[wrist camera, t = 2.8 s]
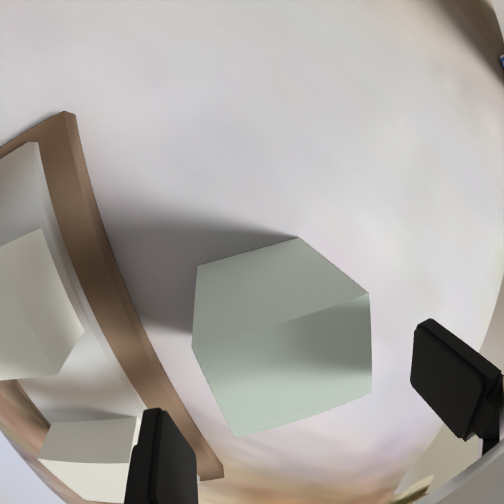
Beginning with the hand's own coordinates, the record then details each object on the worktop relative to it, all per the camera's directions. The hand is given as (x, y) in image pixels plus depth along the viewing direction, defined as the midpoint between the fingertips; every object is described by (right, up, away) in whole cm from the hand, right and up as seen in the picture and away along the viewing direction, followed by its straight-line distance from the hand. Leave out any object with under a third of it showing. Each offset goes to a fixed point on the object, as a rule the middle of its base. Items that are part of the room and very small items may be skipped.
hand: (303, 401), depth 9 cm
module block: (-1, +3, +8) cm, 9 cm away
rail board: (-14, -3, +8) cm, 17 cm away
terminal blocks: (-14, -3, +5) cm, 15 cm away
